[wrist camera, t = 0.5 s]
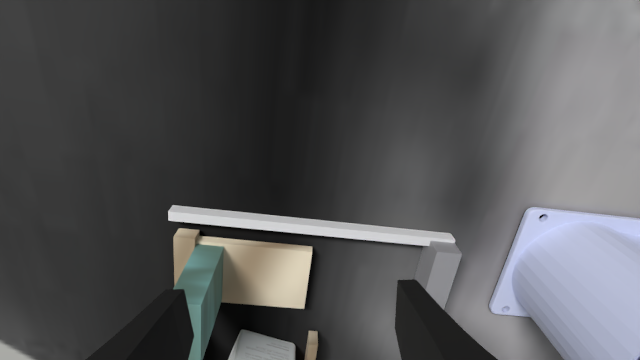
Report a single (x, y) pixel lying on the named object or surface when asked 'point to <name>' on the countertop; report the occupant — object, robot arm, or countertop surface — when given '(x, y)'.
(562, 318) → the robot arm
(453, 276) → the rail
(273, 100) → the countertop surface
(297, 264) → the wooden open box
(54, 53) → the countertop surface
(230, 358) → the skincare box
